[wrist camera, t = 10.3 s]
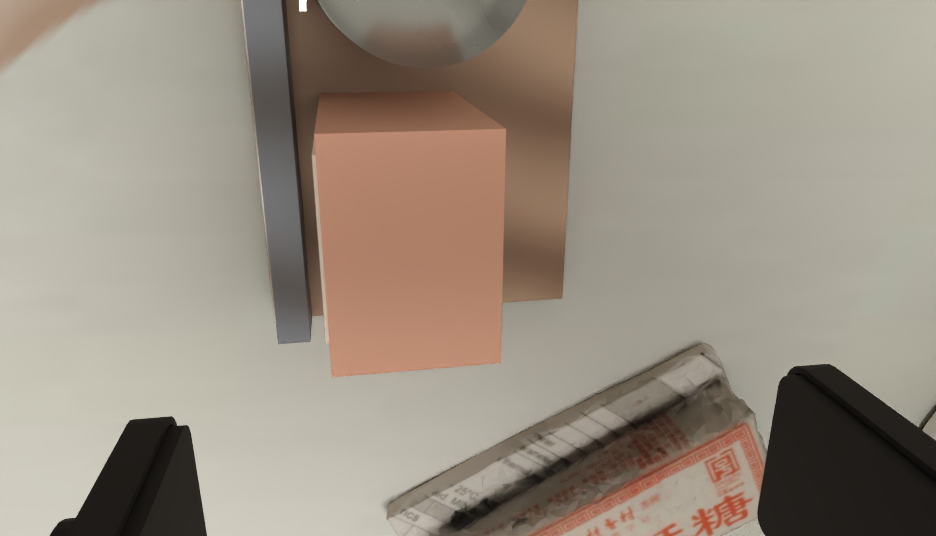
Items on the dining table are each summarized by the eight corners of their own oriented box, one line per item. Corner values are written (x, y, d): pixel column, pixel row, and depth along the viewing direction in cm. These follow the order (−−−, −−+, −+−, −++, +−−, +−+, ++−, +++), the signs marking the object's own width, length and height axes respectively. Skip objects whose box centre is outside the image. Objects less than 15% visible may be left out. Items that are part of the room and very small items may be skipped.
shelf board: (554, 288, 32) (579, 321, 29) (282, 306, 30) (275, 344, 27) (574, -136, 26) (610, -157, 23) (236, -149, 24) (220, -173, 21)
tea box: (453, 262, 29) (500, 363, 21) (328, 269, 28) (327, 377, 20) (452, 90, 27) (506, 128, 19) (316, 93, 26) (309, 134, 18)
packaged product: (756, 379, 30) (809, 532, 34) (702, 331, 35) (754, 472, 39) (388, 570, 30) (483, 701, 34) (380, 497, 35) (465, 621, 39)
